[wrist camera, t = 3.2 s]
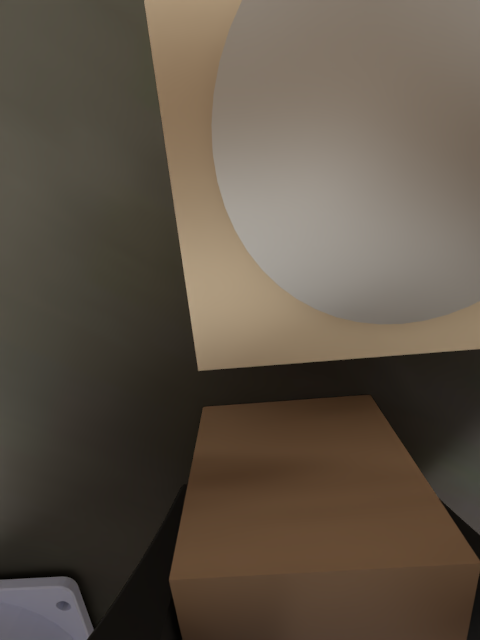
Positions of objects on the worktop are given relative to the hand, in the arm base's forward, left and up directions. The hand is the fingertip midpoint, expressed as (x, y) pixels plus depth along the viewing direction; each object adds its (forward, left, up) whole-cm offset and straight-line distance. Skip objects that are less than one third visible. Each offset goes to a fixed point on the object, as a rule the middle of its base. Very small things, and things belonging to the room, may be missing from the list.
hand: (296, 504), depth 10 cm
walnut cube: (0, 0, -1) cm, 1 cm away
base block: (+9, -2, -1) cm, 9 cm away
